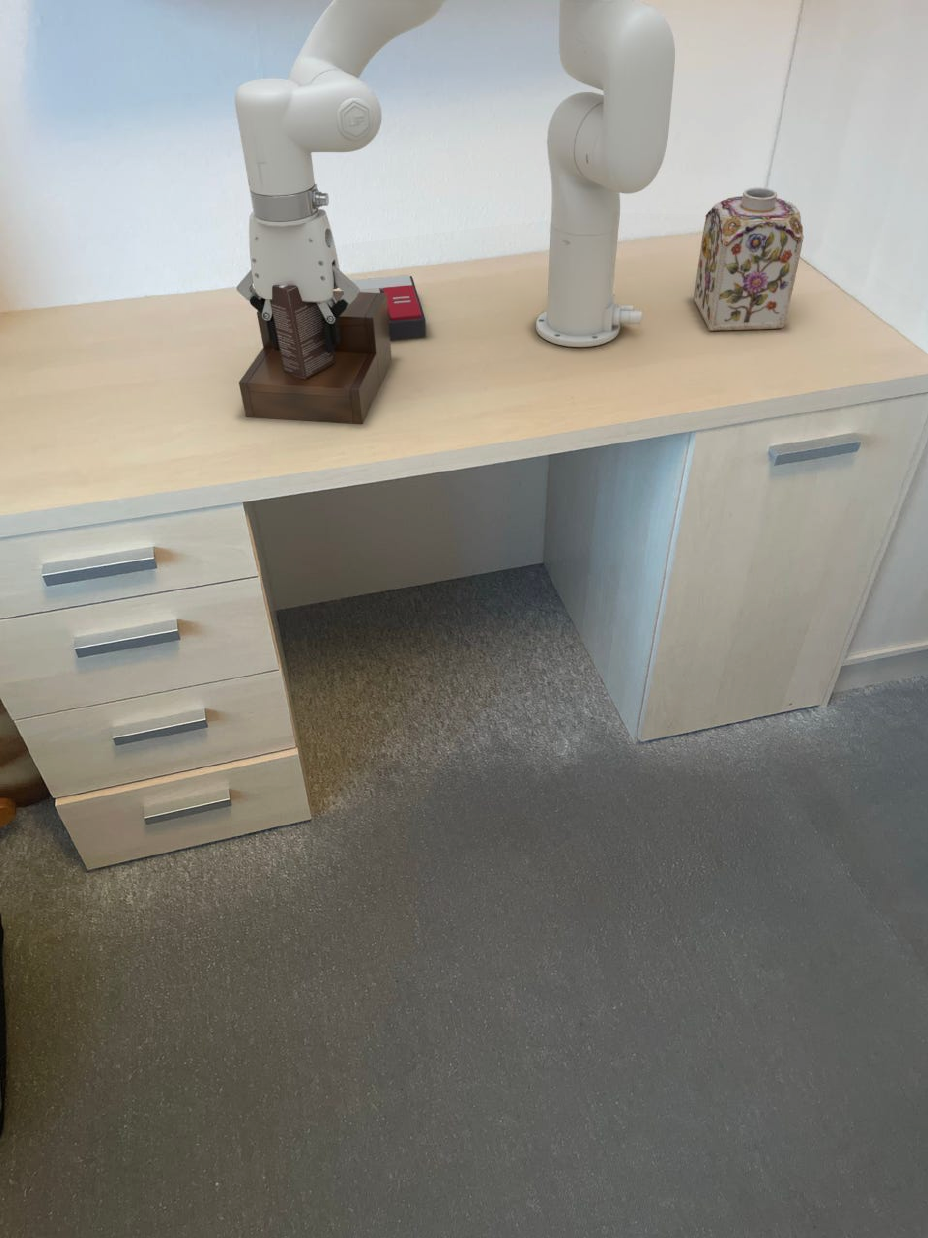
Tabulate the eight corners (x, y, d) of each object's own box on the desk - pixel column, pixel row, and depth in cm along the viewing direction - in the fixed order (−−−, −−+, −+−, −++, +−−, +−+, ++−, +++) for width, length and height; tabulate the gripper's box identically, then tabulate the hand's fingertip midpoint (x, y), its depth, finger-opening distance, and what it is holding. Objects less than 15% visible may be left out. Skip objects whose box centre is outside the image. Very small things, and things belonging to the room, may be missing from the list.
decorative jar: (764, 297, 145) (789, 177, 133) (785, 329, 136) (814, 204, 124) (690, 299, 145) (708, 179, 132) (706, 332, 136) (727, 207, 124)
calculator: (351, 321, 133) (342, 276, 143) (354, 348, 136) (345, 302, 146) (425, 314, 134) (411, 270, 145) (426, 341, 137) (412, 296, 148)
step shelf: (391, 360, 132) (386, 292, 125) (362, 424, 119) (354, 352, 112) (286, 354, 134) (275, 287, 127) (245, 416, 121) (230, 346, 114)
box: (312, 354, 123) (300, 265, 114) (336, 363, 121) (325, 273, 112) (280, 371, 119) (264, 281, 111) (304, 381, 117) (290, 290, 109)
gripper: (364, 193, 107) (377, 337, 120) (225, 189, 110) (252, 330, 122) (348, 216, 102) (364, 364, 114) (202, 211, 104) (233, 356, 116)
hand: (306, 345), depth 118 cm, fingers closed on box, 6 cm apart
